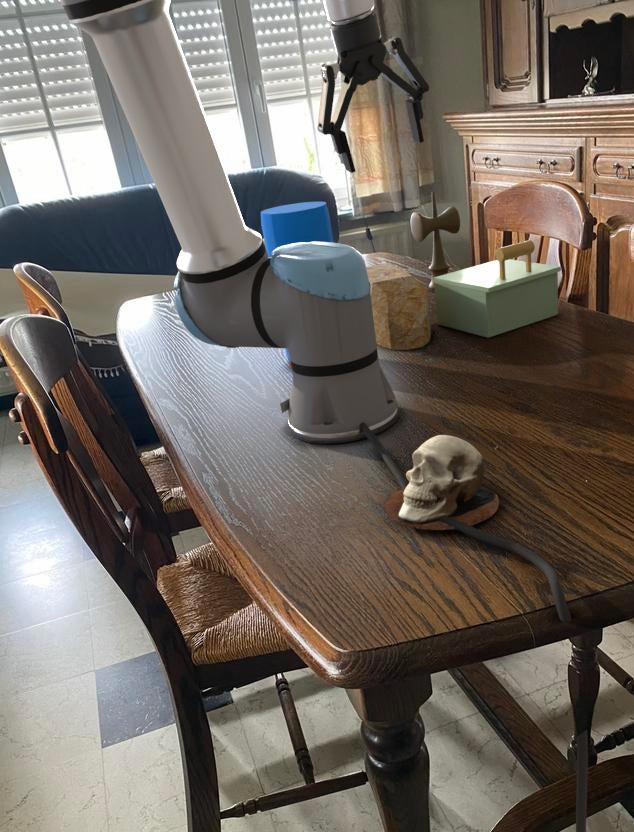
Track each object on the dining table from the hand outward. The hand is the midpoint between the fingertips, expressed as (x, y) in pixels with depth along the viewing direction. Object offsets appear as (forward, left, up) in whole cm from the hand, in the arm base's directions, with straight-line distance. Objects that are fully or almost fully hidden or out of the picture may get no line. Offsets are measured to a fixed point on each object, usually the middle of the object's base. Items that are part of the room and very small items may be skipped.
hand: (384, 155), depth 131 cm
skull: (-64, +39, -30) cm, 81 cm away
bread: (+1, +3, -29) cm, 30 cm away
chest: (-15, -11, -29) cm, 35 cm away
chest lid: (-15, -11, -21) cm, 29 cm away
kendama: (+14, -20, -30) cm, 38 cm away
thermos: (-8, +23, -29) cm, 38 cm away
